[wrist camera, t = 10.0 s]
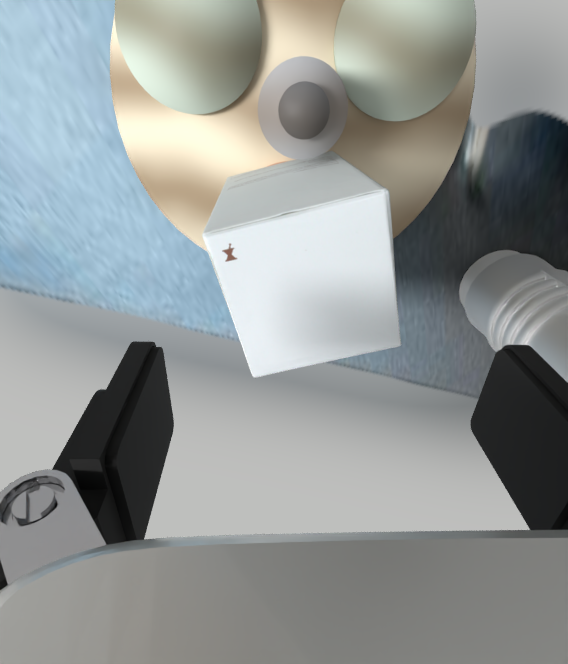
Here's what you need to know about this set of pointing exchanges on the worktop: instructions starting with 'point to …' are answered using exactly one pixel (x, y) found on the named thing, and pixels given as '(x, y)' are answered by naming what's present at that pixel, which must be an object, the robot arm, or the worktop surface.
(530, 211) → the worktop surface
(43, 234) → the worktop surface
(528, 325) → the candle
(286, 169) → the supplement box
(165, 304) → the worktop surface
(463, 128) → the carrier
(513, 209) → the worktop surface
